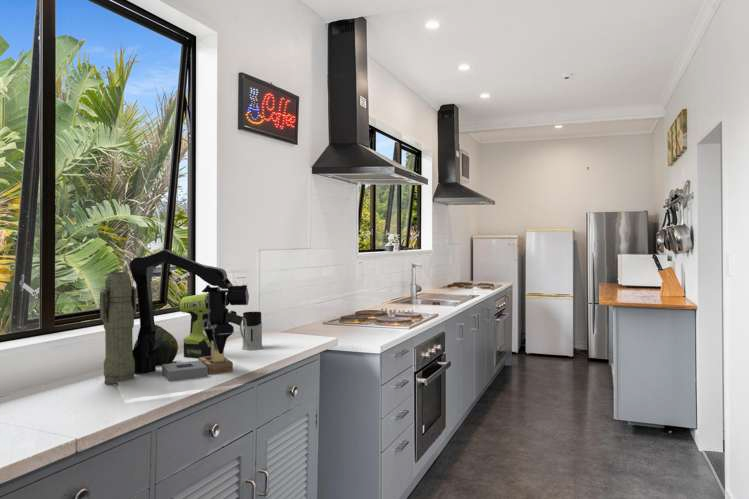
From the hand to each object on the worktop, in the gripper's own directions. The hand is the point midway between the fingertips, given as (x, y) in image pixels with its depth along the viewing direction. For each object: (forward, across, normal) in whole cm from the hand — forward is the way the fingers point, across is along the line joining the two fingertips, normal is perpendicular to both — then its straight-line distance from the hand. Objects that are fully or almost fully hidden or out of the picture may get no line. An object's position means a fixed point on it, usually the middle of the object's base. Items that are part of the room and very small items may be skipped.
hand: (217, 351), depth 186 cm
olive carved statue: (+8, +5, +30) cm, 31 cm away
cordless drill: (+8, +29, -4) cm, 30 cm away
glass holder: (+8, +35, -22) cm, 42 cm away
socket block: (+8, -1, +11) cm, 13 cm away
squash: (+8, +25, +16) cm, 31 cm away
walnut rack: (+8, +3, 0) cm, 8 cm away
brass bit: (+6, 0, 0) cm, 6 cm away
